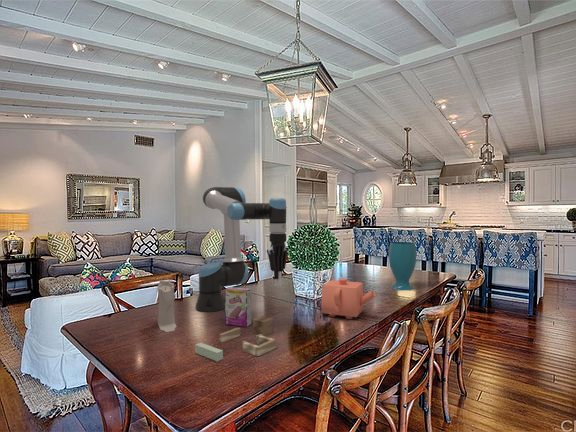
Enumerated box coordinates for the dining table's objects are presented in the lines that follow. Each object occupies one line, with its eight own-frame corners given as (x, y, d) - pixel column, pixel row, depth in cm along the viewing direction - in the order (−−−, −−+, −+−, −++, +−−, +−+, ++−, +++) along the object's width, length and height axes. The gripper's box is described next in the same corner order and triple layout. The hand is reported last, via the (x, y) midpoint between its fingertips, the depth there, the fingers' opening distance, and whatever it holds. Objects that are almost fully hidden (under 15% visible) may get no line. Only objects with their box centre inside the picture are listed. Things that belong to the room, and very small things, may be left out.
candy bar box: (224, 325, 157) (224, 288, 156) (229, 321, 161) (229, 286, 161) (246, 327, 153) (246, 290, 153) (251, 324, 158) (251, 288, 157)
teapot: (379, 312, 176) (379, 277, 175) (370, 325, 155) (370, 286, 155) (332, 306, 186) (332, 273, 186) (318, 318, 166) (318, 281, 165)
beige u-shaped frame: (217, 342, 136) (217, 335, 136) (237, 334, 144) (237, 327, 144) (258, 356, 123) (258, 348, 123) (278, 346, 131) (277, 338, 131)
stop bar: (195, 352, 126) (195, 344, 126) (200, 350, 128) (200, 342, 128) (217, 361, 119) (217, 352, 119) (222, 359, 121) (222, 350, 121)
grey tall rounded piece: (161, 333, 147) (160, 285, 146) (157, 323, 159) (156, 280, 159) (178, 330, 150) (178, 284, 150) (173, 321, 162) (173, 278, 162)
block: (253, 333, 146) (253, 319, 146) (262, 329, 151) (262, 315, 151) (263, 336, 142) (263, 322, 142) (273, 332, 147) (273, 318, 147)
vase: (420, 291, 222) (420, 244, 221) (393, 291, 222) (393, 244, 221) (410, 285, 239) (411, 241, 238) (385, 285, 239) (385, 241, 238)
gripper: (275, 234, 146) (275, 289, 147) (293, 232, 157) (293, 284, 157) (261, 233, 151) (262, 287, 151) (280, 231, 161) (280, 282, 162)
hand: (278, 285), depth 154 cm, fingers closed
